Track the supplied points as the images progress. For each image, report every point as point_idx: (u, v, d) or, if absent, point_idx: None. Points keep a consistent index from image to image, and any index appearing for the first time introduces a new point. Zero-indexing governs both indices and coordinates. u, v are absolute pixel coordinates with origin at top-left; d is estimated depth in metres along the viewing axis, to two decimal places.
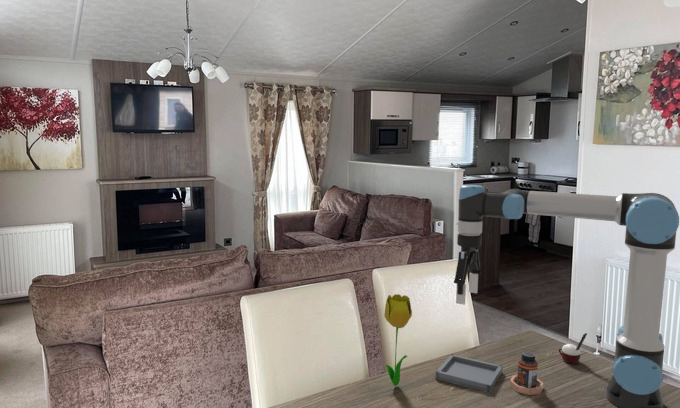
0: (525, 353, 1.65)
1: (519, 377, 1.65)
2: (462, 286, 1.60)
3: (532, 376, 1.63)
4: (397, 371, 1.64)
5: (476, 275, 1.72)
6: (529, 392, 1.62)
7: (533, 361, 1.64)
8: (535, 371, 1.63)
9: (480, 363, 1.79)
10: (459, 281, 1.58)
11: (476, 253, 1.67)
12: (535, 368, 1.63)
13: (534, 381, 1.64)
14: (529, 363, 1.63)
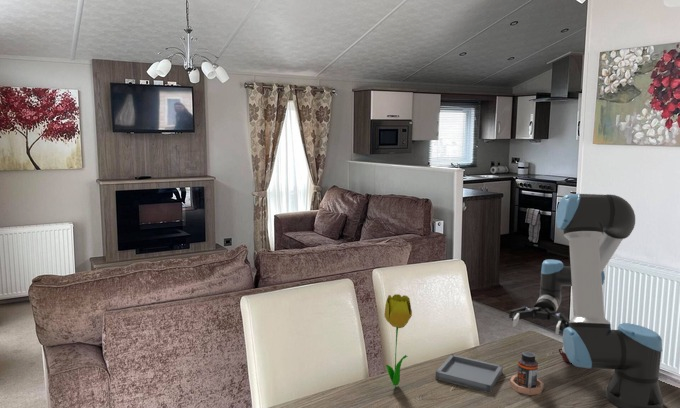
0: (525, 353, 1.65)
1: (519, 377, 1.65)
2: (514, 315, 1.82)
3: (532, 376, 1.63)
4: (397, 371, 1.64)
5: None
6: (529, 392, 1.62)
7: (533, 361, 1.64)
8: (535, 371, 1.63)
9: (480, 363, 1.79)
10: None
11: (548, 309, 1.84)
12: (535, 368, 1.63)
13: (534, 381, 1.64)
14: (529, 363, 1.63)
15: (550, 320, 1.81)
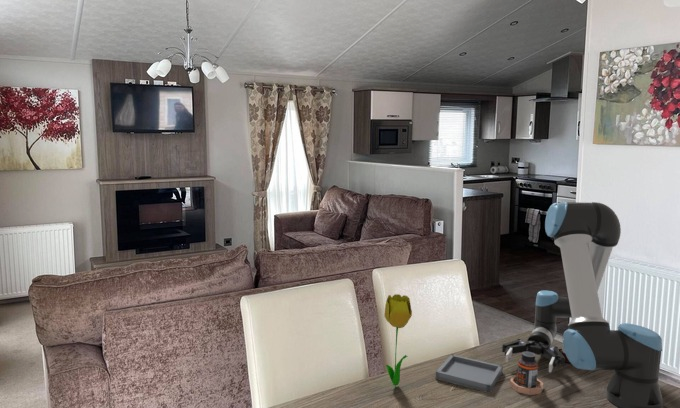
0: (525, 353, 1.65)
1: (519, 377, 1.65)
2: (507, 349, 1.78)
3: (532, 376, 1.63)
4: (397, 371, 1.64)
5: (552, 358, 1.71)
6: (529, 392, 1.62)
7: (533, 361, 1.64)
8: (535, 371, 1.63)
9: (480, 363, 1.79)
10: None
11: (542, 343, 1.81)
12: (535, 368, 1.63)
13: (534, 381, 1.64)
14: (529, 363, 1.63)
15: (544, 355, 1.78)
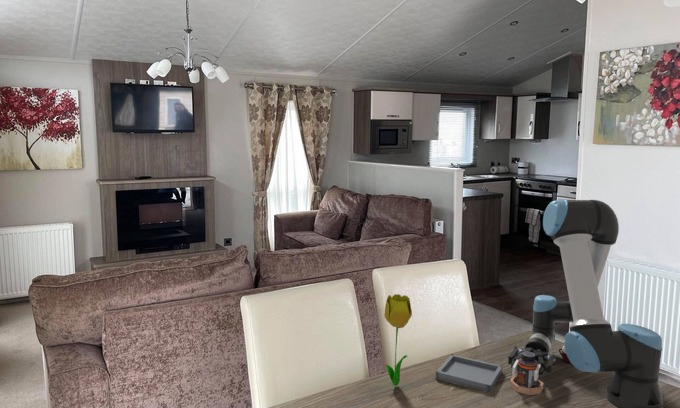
0: (525, 353, 1.65)
1: (519, 377, 1.65)
2: (514, 361, 1.69)
3: (532, 376, 1.63)
4: (397, 371, 1.64)
5: (538, 365, 1.65)
6: (529, 392, 1.62)
7: (533, 361, 1.64)
8: None
9: (480, 363, 1.79)
10: None
11: (539, 350, 1.74)
12: (535, 368, 1.63)
13: (534, 381, 1.64)
14: (529, 363, 1.63)
15: (537, 362, 1.72)
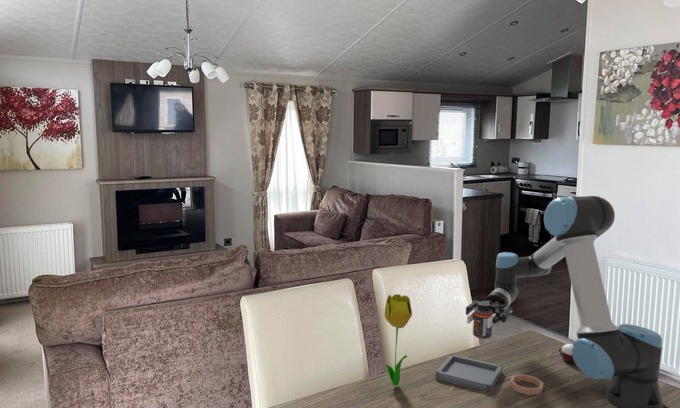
0: (480, 303, 1.71)
1: (474, 326, 1.71)
2: (471, 311, 1.74)
3: None
4: (397, 371, 1.64)
5: None
6: (529, 392, 1.62)
7: (488, 310, 1.69)
8: None
9: (480, 363, 1.79)
10: None
11: (497, 302, 1.80)
12: (489, 316, 1.69)
13: (488, 329, 1.69)
14: (483, 312, 1.69)
15: (494, 313, 1.77)
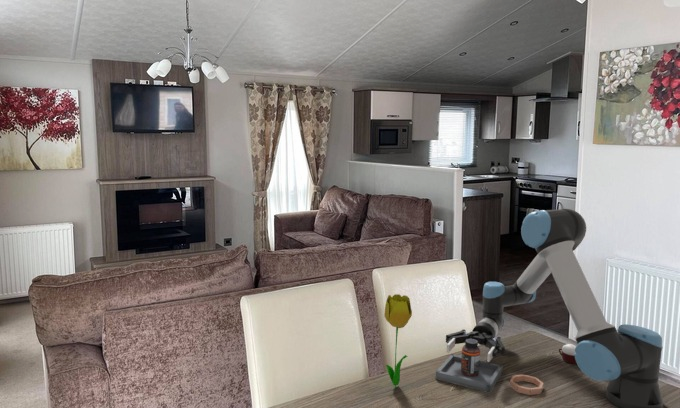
0: (468, 340, 1.73)
1: (462, 363, 1.73)
2: (450, 339, 1.79)
3: (474, 362, 1.70)
4: (397, 371, 1.64)
5: None
6: (529, 392, 1.62)
7: (476, 347, 1.71)
8: (477, 357, 1.71)
9: (480, 363, 1.79)
10: None
11: (485, 333, 1.81)
12: (477, 354, 1.70)
13: (476, 367, 1.71)
14: (471, 350, 1.70)
15: (486, 345, 1.79)
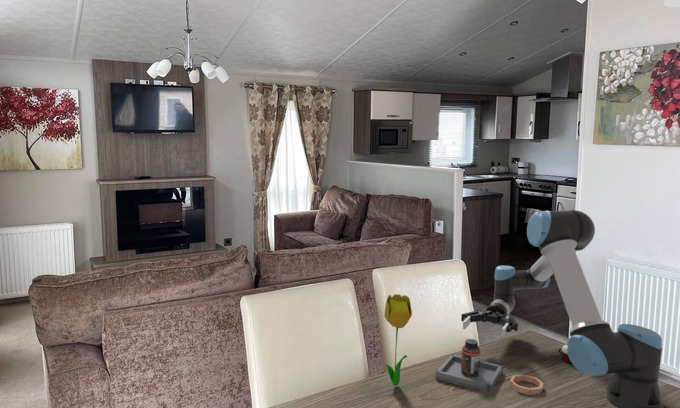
0: (468, 340, 1.73)
1: (462, 363, 1.73)
2: (466, 318, 1.90)
3: (474, 362, 1.70)
4: (397, 371, 1.64)
5: (506, 324, 1.83)
6: (529, 392, 1.62)
7: (476, 347, 1.71)
8: (477, 357, 1.71)
9: (480, 363, 1.79)
10: None
11: (498, 312, 1.92)
12: (477, 354, 1.70)
13: (476, 367, 1.71)
14: (471, 350, 1.70)
15: (500, 323, 1.90)
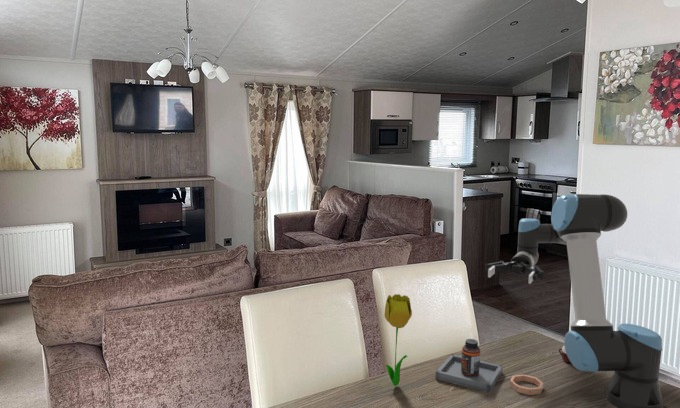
0: (468, 340, 1.73)
1: (462, 363, 1.73)
2: (490, 267, 1.87)
3: (474, 362, 1.70)
4: (397, 371, 1.64)
5: None
6: (529, 392, 1.62)
7: (476, 347, 1.71)
8: (477, 357, 1.71)
9: (480, 363, 1.79)
10: None
11: (523, 262, 1.90)
12: (477, 354, 1.70)
13: (476, 367, 1.71)
14: (471, 350, 1.70)
15: (525, 273, 1.87)
